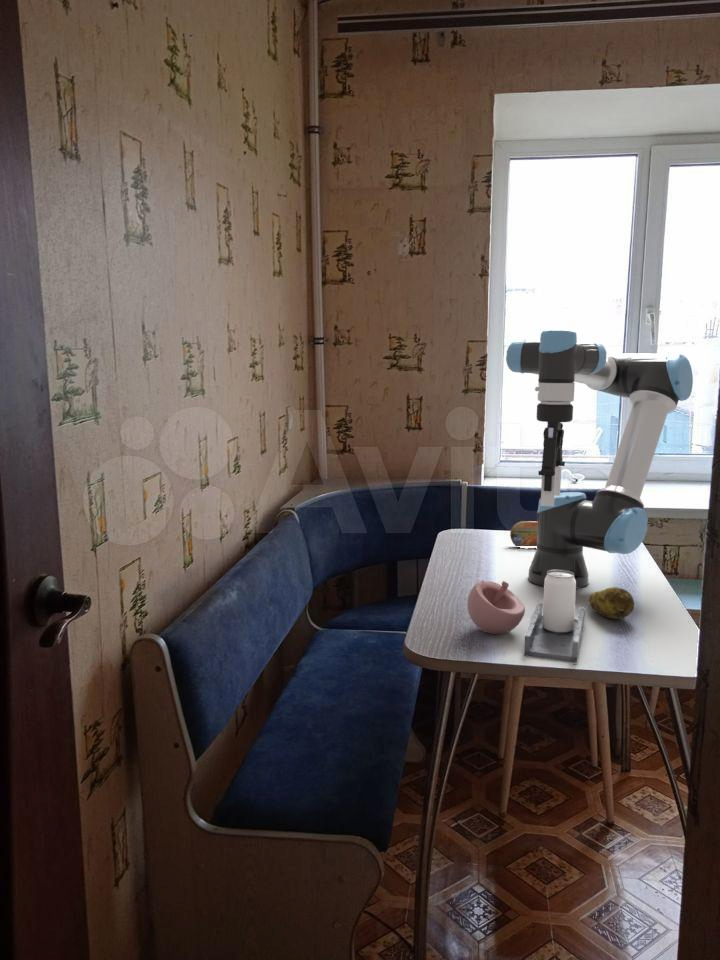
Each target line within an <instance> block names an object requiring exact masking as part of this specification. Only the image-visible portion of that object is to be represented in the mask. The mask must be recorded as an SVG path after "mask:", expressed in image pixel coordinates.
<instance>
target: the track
mask: <svg viewBox="0 0 720 960" xmlns="http://www.w3.org/2000/svg"><path fill="white" fill-rule="evenodd" d="M585 615H586V607H584V606H580V607H579V610H578V616H577V619H575V618H574V629H573V630H572V631H571V632H568V633H554V632H550V631H547V630H546V629H544V627H543V625H542V623H543V602H540V601H538V602H537V605H536V606H535V610H534V611H533V614H532V617H531V619H530V621H529V625H528V627H527V629H526V632H525V635H524V646H523V647H524V648H523V656H526V657H532V658H540V659H547V660H548V659H549V660H555V661H562V662H568V663H569V662H571V663H577V662H578V660H579V659H578V658H579V653H580V648H581V643H582V637H583V632H584V627H585V617H586V616H585Z"/></svg>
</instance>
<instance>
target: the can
mask: <svg viewBox="0 0 720 960" xmlns="http://www.w3.org/2000/svg"><path fill="white" fill-rule="evenodd" d="M576 589H577V588H576V580H575V578H574V573H572V572H570V571H565V570H550V571H548V572H547V576H546V577H545V580H544V586H543V598H542V599H543V601H542V603H543V610H542V616H543V623H542V625H543V627H544V629H546V630H547V631H550V632H554V633H568V632H571V631H572V630H573V629H574V619H575V613H576V612H575V610H576V594H577V593H576V592H577V591H576Z"/></svg>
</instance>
